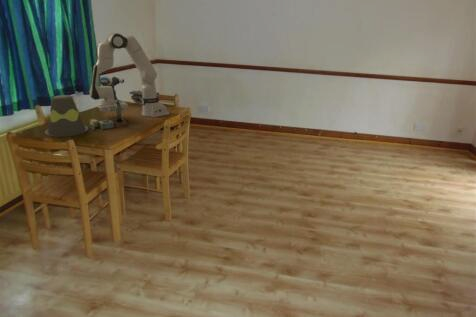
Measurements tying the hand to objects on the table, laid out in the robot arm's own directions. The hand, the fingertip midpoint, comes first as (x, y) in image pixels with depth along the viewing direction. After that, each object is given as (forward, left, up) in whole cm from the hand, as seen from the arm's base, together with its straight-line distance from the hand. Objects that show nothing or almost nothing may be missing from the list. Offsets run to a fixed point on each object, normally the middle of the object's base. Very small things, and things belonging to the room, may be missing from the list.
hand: (116, 109), depth 270 cm
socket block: (+13, +4, -11) cm, 17 cm away
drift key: (+17, -1, -11) cm, 20 cm away
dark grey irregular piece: (-41, -54, -11) cm, 69 cm away
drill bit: (0, +4, -11) cm, 12 cm away
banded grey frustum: (+36, 0, -11) cm, 37 cm away
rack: (0, +4, -11) cm, 12 cm away
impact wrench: (-16, -64, -11) cm, 67 cm away
